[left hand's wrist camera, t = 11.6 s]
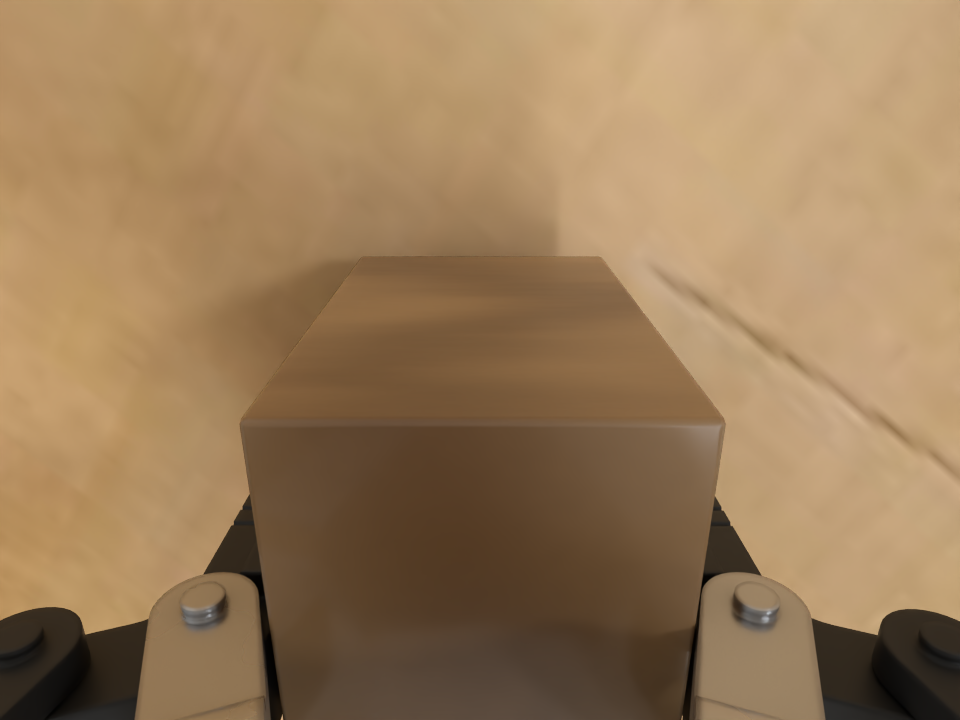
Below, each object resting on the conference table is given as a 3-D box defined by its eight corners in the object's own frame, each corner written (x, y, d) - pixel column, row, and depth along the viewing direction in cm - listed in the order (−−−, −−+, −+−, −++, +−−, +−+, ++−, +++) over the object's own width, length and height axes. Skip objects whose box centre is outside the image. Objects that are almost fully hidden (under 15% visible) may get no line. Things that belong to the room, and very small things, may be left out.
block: (602, 255, 13) (730, 420, 7) (581, 560, 16) (656, 900, 9) (360, 255, 13) (235, 420, 7) (380, 560, 16) (307, 900, 9)
